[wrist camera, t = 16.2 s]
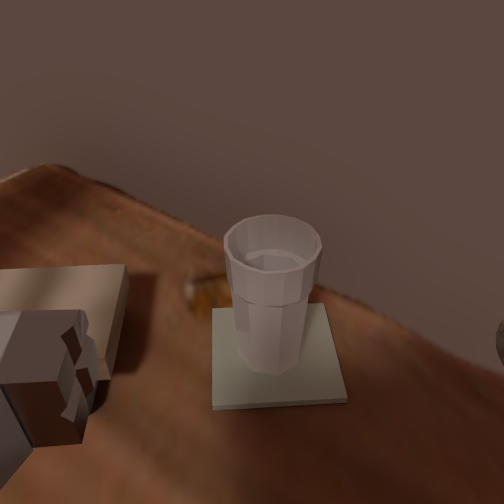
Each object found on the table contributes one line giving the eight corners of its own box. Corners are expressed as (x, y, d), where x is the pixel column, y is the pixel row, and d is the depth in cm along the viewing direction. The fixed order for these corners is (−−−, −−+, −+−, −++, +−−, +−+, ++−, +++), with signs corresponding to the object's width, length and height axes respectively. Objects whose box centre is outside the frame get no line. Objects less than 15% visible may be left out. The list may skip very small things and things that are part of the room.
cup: (258, 309, 43) (258, 204, 36) (325, 340, 40) (338, 232, 33) (213, 358, 39) (203, 250, 32) (284, 397, 36) (290, 287, 29)
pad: (212, 410, 36) (212, 405, 35) (212, 313, 44) (212, 308, 43) (346, 402, 36) (347, 397, 36) (323, 307, 44) (323, 302, 44)
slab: (-80, 427, 35) (-116, 381, 31) (-18, 309, 44) (-40, 264, 41) (116, 416, 35) (101, 369, 32) (137, 301, 45) (127, 256, 41)
